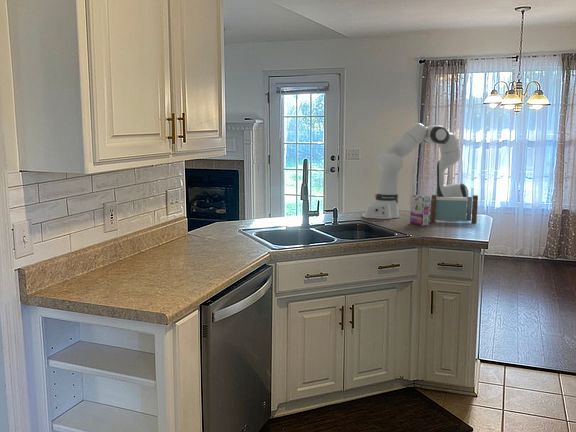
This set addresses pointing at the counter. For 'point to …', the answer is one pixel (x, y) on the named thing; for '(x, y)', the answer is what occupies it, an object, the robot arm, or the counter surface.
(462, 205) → the gate
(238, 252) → the counter surface
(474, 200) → the gate post
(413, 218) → the candy bar box
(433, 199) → the post
